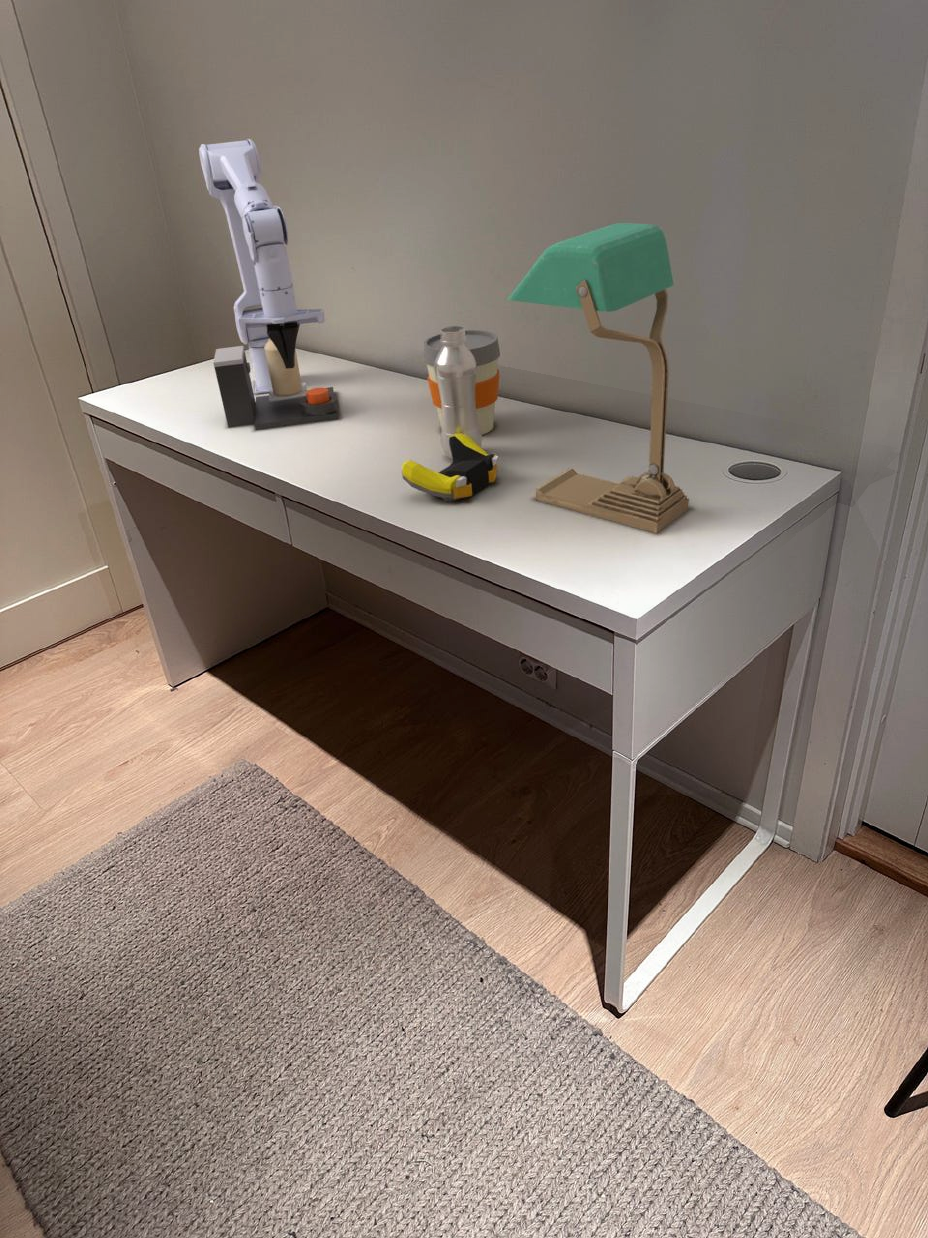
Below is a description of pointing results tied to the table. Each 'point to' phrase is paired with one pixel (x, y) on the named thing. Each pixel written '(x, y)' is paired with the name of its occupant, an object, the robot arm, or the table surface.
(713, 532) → the table surface
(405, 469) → the gaming controller
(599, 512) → the banker's lamp
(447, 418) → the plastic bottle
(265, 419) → the grey base plate
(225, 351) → the tower
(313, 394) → the button
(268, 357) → the candle
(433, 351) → the reusable coffee cup
